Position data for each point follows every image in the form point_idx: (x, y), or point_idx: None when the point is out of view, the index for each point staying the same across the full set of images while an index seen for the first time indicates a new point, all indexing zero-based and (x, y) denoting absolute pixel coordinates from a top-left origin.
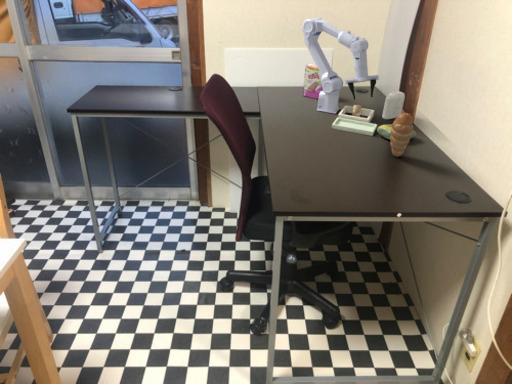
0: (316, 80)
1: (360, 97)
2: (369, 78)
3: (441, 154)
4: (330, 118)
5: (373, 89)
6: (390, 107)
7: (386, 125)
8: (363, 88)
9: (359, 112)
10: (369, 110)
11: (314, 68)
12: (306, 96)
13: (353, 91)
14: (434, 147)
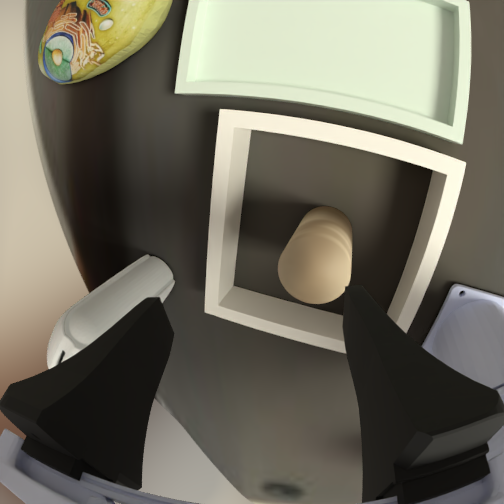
0: None
1: (288, 466)
2: (47, 495)
3: (31, 9)
4: (489, 190)
5: (88, 345)
6: (102, 284)
7: (112, 5)
8: (277, 499)
9: (297, 229)
10: (232, 309)
11: None
12: None
13: (391, 349)
14: (32, 40)
